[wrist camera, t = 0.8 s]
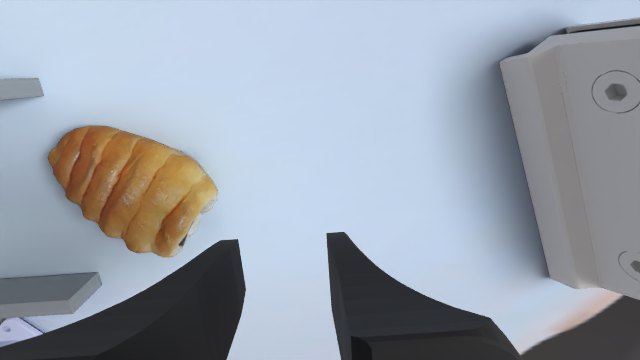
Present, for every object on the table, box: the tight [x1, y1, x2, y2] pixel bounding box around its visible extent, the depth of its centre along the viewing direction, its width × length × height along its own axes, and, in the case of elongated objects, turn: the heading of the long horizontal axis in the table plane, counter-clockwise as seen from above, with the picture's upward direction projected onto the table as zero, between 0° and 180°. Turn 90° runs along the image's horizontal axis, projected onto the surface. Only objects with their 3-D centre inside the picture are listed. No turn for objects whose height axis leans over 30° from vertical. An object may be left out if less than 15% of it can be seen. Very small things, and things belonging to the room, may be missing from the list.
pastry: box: [48, 126, 218, 257], centre depth 20 cm, size 9×7×4 cm
